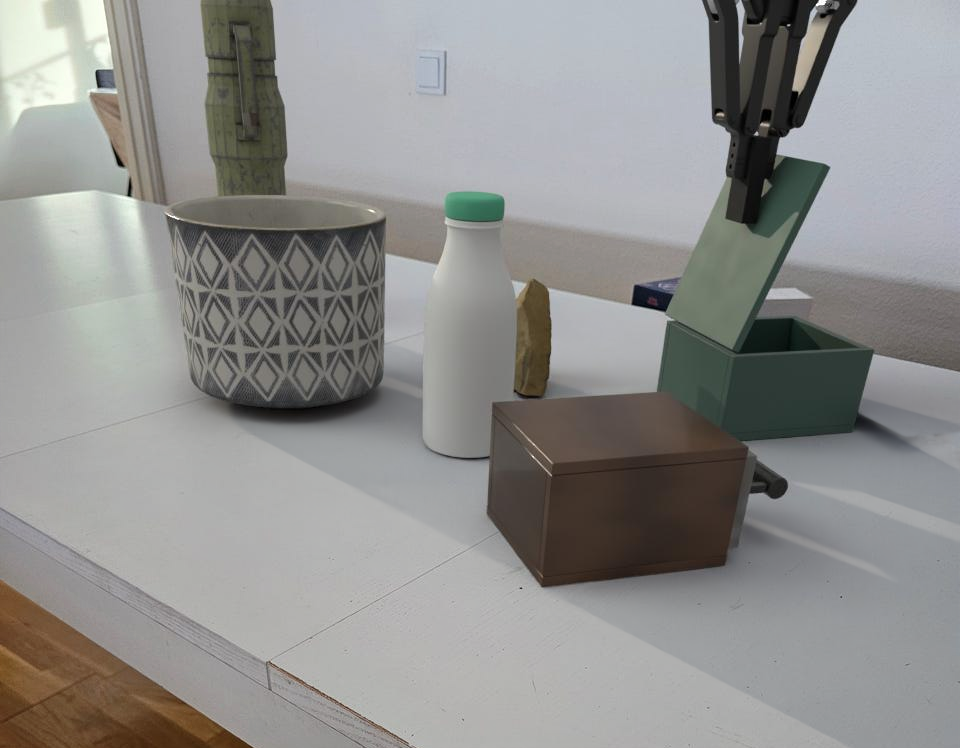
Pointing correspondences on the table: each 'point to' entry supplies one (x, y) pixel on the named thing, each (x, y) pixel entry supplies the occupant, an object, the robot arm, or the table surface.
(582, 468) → the cabinet
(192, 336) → the planter
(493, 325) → the milk bottle
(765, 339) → the chest
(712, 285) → the lid
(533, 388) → the rock
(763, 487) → the drawer
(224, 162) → the thermos
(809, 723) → the table surface
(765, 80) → the robot arm
